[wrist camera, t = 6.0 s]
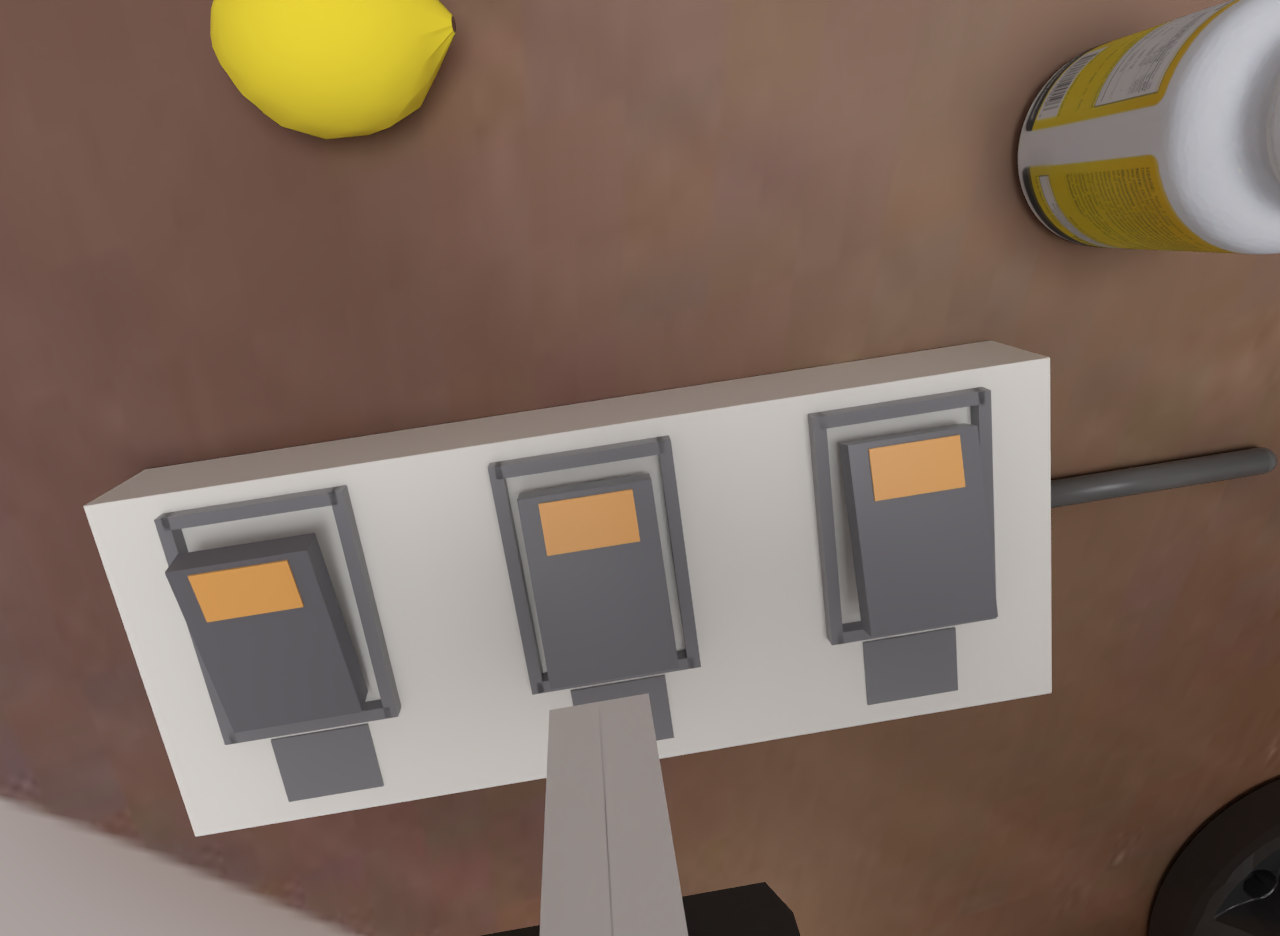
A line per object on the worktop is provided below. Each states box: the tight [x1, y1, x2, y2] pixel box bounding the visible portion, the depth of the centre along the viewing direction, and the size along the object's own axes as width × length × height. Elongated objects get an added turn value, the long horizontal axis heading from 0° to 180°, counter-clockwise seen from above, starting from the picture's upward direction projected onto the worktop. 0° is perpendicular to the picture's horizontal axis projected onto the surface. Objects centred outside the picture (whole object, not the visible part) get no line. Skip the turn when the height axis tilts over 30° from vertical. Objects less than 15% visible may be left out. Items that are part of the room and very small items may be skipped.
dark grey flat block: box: [517, 473, 679, 689], centre depth 27 cm, size 6×4×1 cm, turn 8°
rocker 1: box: [165, 533, 368, 733], centre depth 26 cm, size 6×4×1 cm, turn 8°
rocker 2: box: [839, 423, 998, 637], centre depth 27 cm, size 6×4×1 cm, turn 8°
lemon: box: [210, 0, 456, 139], centre depth 25 cm, size 7×5×5 cm
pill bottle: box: [1018, 0, 1280, 254], centre depth 24 cm, size 6×6×12 cm
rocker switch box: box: [84, 340, 1277, 837], centre depth 30 cm, size 12×40×5 cm, turn 98°
